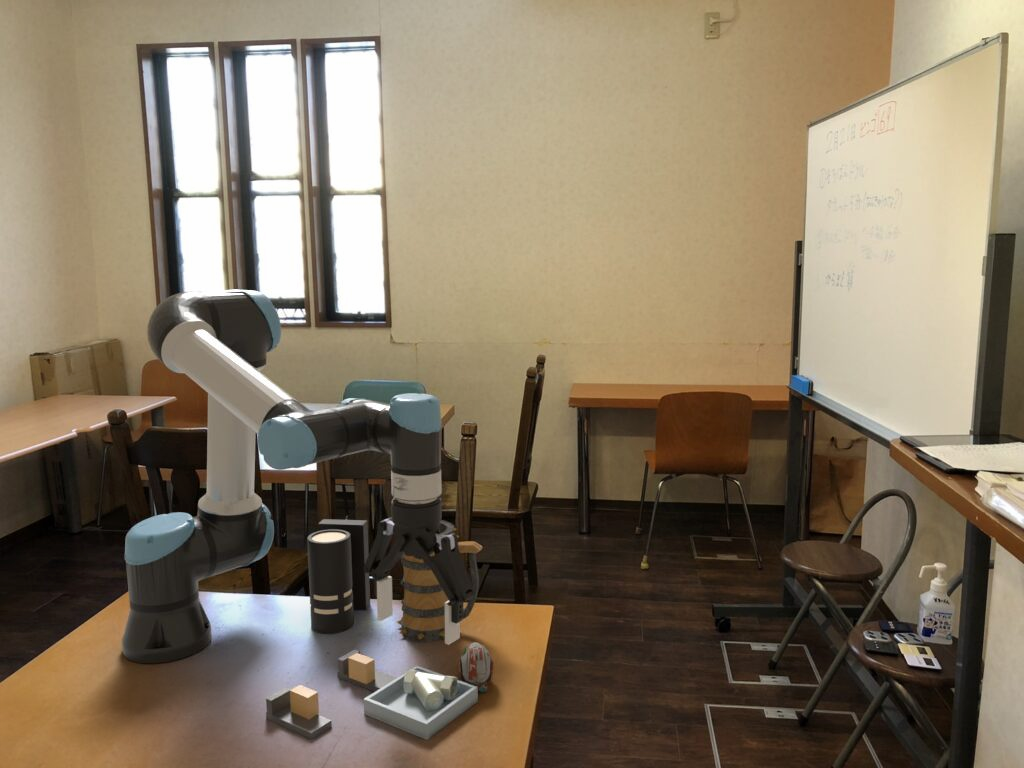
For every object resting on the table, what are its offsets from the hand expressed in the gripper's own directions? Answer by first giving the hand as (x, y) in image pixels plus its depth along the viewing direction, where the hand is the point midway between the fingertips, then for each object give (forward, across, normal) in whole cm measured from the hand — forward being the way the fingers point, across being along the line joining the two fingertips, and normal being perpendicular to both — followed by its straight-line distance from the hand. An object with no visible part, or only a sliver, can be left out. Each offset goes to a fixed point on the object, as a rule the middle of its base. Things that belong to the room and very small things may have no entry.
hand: (417, 629), depth 127 cm
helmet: (+13, +4, +10) cm, 17 cm away
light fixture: (+14, -34, +16) cm, 40 cm away
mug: (+14, -14, +23) cm, 30 cm away
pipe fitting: (+13, +1, +1) cm, 13 cm away
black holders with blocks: (+13, -12, -6) cm, 19 cm away
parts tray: (+13, +1, 0) cm, 13 cm away
